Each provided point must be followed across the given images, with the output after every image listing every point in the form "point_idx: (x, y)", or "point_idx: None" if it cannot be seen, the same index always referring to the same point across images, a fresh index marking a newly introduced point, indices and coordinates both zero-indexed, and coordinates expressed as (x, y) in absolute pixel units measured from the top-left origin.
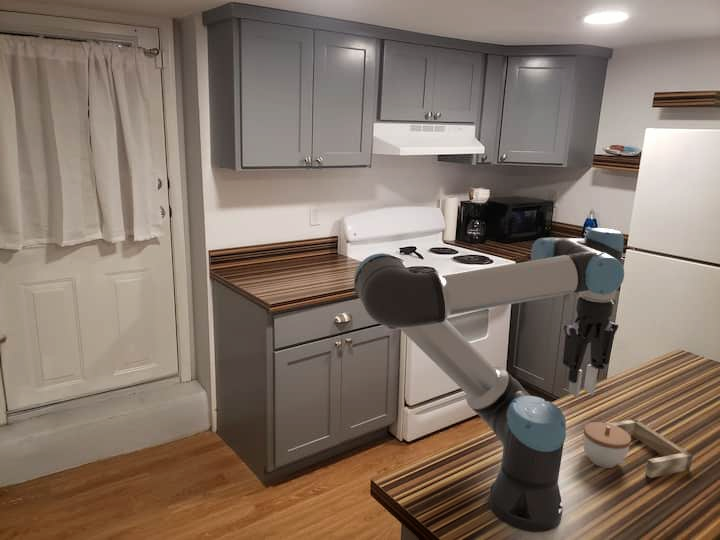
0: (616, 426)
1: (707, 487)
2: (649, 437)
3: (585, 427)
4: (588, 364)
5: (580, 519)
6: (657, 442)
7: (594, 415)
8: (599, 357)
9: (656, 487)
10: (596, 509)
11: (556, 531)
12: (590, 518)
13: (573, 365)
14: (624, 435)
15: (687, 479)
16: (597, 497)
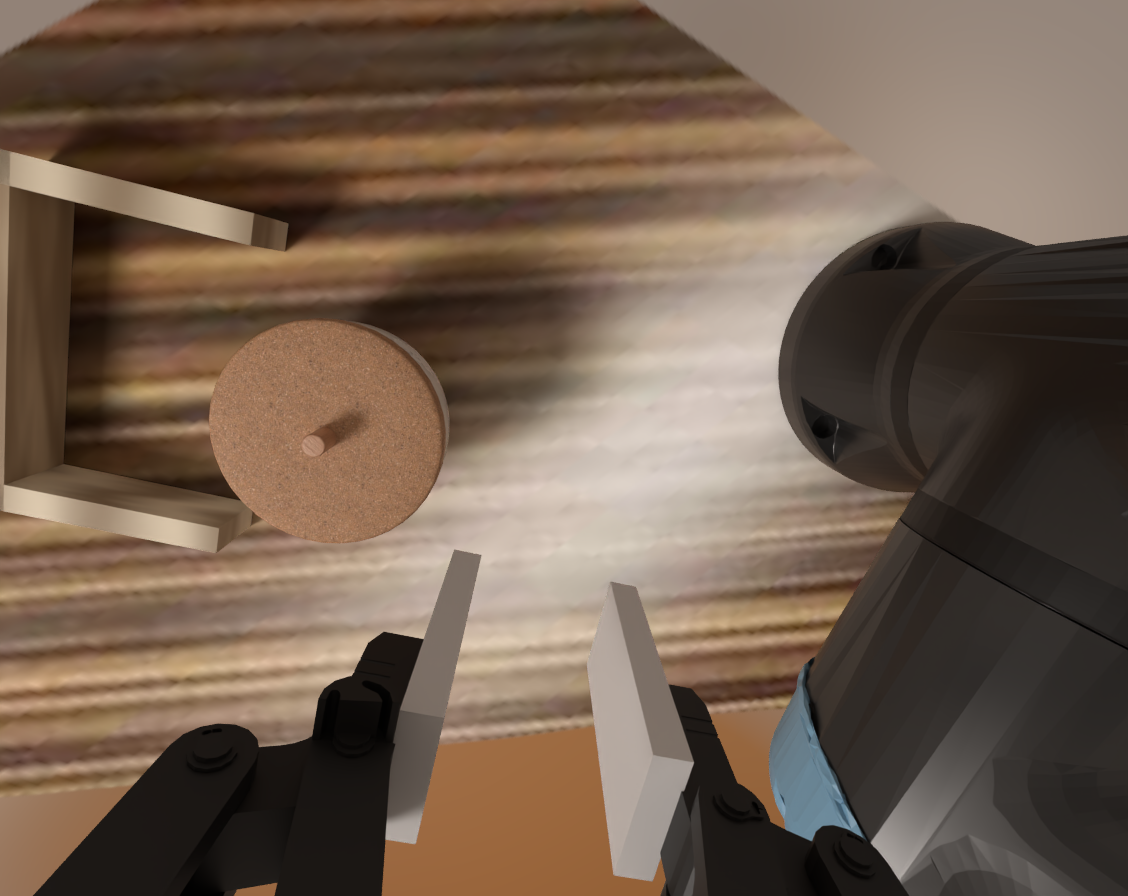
0: (220, 453)
1: (94, 34)
2: (31, 386)
3: (390, 523)
4: (402, 839)
5: (791, 207)
6: (31, 339)
7: (93, 647)
8: (348, 873)
9: (325, 167)
10: (685, 212)
11: (922, 211)
12: (754, 190)
13: (838, 865)
14: (263, 373)
15: (130, 124)
16: (614, 258)
